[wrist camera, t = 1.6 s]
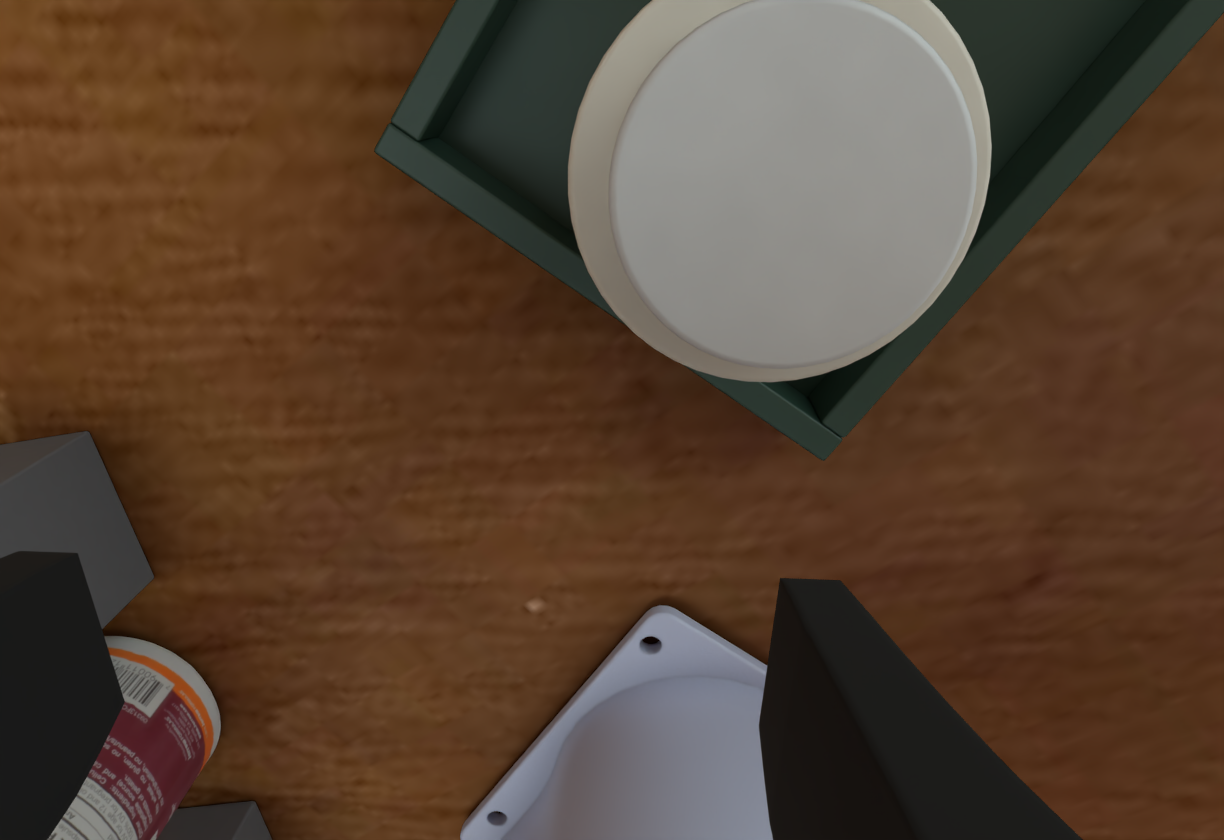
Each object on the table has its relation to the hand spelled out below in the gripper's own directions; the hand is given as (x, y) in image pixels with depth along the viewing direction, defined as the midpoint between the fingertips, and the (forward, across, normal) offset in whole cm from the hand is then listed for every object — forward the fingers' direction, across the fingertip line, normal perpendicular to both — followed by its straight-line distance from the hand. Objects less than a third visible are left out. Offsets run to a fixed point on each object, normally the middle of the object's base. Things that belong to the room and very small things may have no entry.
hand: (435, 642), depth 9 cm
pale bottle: (+10, -4, -4) cm, 11 cm away
